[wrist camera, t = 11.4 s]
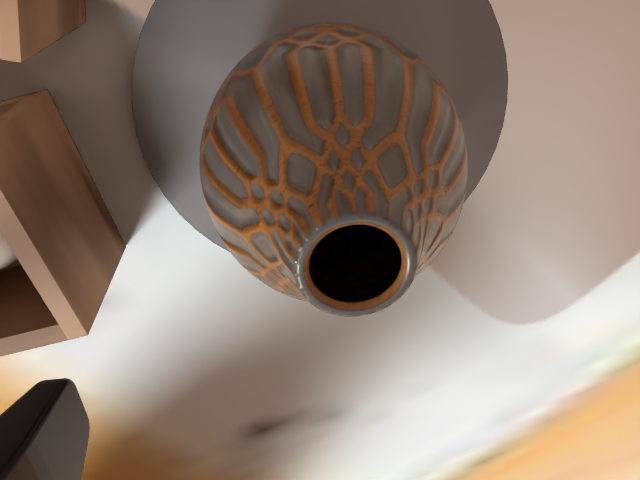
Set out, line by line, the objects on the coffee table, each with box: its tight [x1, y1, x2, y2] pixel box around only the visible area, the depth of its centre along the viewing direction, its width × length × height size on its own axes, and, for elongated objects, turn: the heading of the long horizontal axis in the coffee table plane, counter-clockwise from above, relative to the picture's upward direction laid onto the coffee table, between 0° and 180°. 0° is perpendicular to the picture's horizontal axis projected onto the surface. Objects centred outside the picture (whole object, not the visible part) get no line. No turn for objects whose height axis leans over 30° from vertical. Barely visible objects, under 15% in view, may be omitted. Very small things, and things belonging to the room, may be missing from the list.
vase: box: [199, 22, 468, 316], centre depth 14 cm, size 7×7×9 cm
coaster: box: [132, 0, 508, 252], centre depth 18 cm, size 12×12×1 cm
